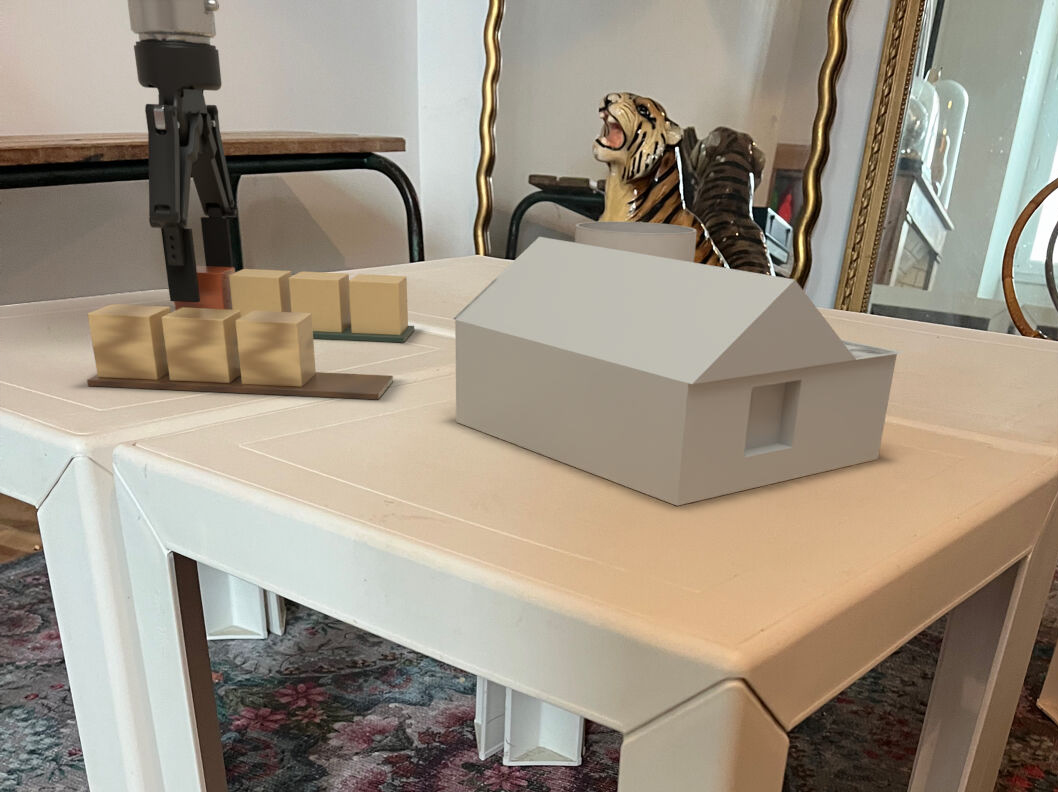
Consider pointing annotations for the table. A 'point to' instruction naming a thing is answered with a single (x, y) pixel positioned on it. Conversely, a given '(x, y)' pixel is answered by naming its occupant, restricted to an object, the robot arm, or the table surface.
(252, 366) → the front word
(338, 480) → the table surface
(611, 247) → the planter
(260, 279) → the block row
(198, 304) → the copper orange cube
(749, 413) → the toy house
